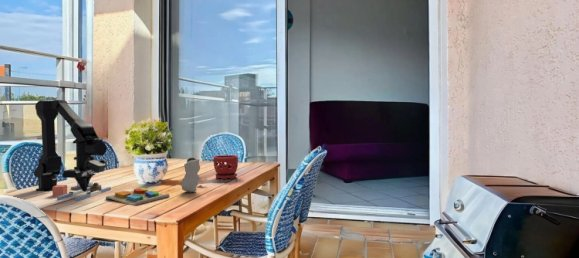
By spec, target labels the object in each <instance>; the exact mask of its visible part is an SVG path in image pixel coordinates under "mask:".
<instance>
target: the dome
mask: <svg viewBox="0 0 579 258" xmlns="http://www.w3.org/2000/svg"><path fill="white" fill-rule="evenodd" d="M93 184H94V181H93V180H91V179H90V181H89V184H88V186H91V185H93ZM76 186H78V187H80V185H79V184H78V182H77V181H76Z"/></svg>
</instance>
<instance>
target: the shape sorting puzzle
mask: <svg viewBox="0 0 579 258" xmlns="http://www.w3.org/2000/svg"><path fill="white" fill-rule="evenodd" d="M170 196H171V195H170V194H169V193H165V194H163V193H160V192H159V191H157V190H148V189H147V188H146V187H136V188H134V189H133V190H131V191H129V190H121V191H117V192H114V194H112V195H107V196H106V197H105V200H106V201H107V200H112V201H116V202H118V203H123V204H126V205H130V206H138V205H142V204H147V203H150V202H155V201H158V200H161V199H165V198H170Z"/></svg>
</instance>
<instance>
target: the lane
mask: <svg viewBox="0 0 579 258" xmlns="http://www.w3.org/2000/svg"><path fill="white" fill-rule="evenodd" d="M111 190H112V188H111V186H107V187H103V188H101V189H97V191H94V192H90V187H87V190H86V191H82V189H81V188H80V190H75V191H74V190H73V191H68V192H67V194H64V195H61V196H56V200H58V201H61V199H62V200H64V198H65V199H68V198H71V197H74V196H77V197H75V200H74V201H76V202H77V201H81V200H85V199H87V198H91V197H94V196H96V195H99V194H103V193H106V192H109V191H111ZM83 193H85V194H83ZM80 194H83V195H80ZM78 195H79V196H78Z"/></svg>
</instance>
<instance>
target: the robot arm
mask: <svg viewBox="0 0 579 258" xmlns="http://www.w3.org/2000/svg"><path fill="white" fill-rule="evenodd" d="M34 107H35V113H36V116H37V117H38V118H39V119H40V122H41V123H40V124H41V142H42V144H41V145H42V148H41V149H42V153H41V155H40V157H39V159H38V165H37V166H36V168H35V170H34V171H33V175H34V177H36V178H38V181H37V182H38V188H35V190H36V191H44V192H45V191H53V189H52V187H54V186H56V185H58V178H57V176H58V175H60V174H62V178H64V179H65V178H67V179H68V178H69V179H75V181H76V183H77V182H78V184H79V185H80V187H81V189H82V191H86V190H87V187H88V184H89V181H90V180H91V178H93V177H94V176H96V174H97V173H98V174H99V173H101V172H102V173H103V172H104V171H105V168H107V167H108V166H107V164H108V163H107V160H106V159H100V160H97V159H96V158H95V156H99V157H102V156H104V155H105V154H106V153H107V151H108V147H107V145H106V142H104V141H103V140H104V139H103V138H99V135H98V133H97V132H96V130H95V127H94V126H93V125H92V124H91V123H90V122H88V121H87V120H84V119H82V118H81V117H80V116H79V115H78V114H77V113H76V112H75V111H74V109H73V108H72V107H71V106H70V105H69V103H68V101H67V100H65V99H53V100H45V99H44V100H43V99H42V100H38V101H37V102H36V103H35V106H34ZM59 115H60V116H61V117H62V118H63V119H64V120H65V122H66V123H68V125H69V126H70V133H71V134H72V136H73V137H74V140H73V141H72V144H75V151H76V152H75V156H74V157H73V160H74V161H75V162H76V164H75V165H76V166H74V167H73V169H66V170H63V172H62V173H61V170H62V166H63V163H62V159H63V158H62V156H61V155H59V154H58V153H57V150H56V149H57V148H56V145H57V144H56V129H55V127H56V125H55V124H56V123H55V122H56V121H55V120H56V119H57V117H58V116H59Z"/></svg>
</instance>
